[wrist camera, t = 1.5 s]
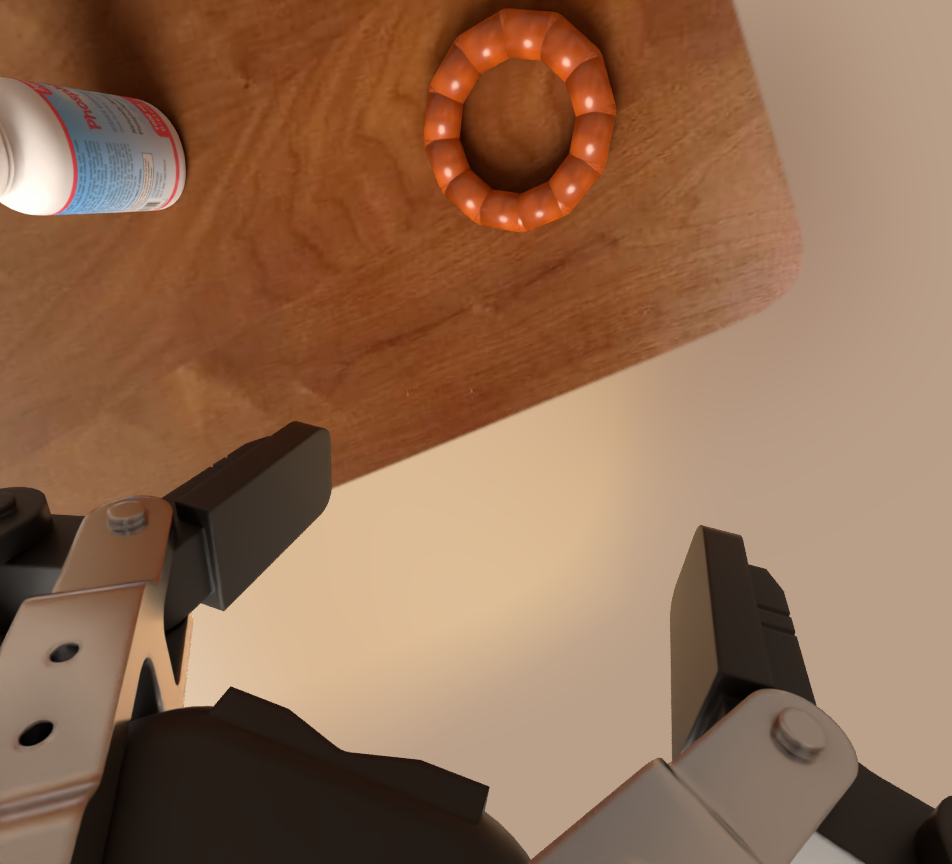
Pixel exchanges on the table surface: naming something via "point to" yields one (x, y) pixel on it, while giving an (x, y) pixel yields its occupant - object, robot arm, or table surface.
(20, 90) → the pill bottle
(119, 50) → the table surface
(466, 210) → the ring
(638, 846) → the robot arm
